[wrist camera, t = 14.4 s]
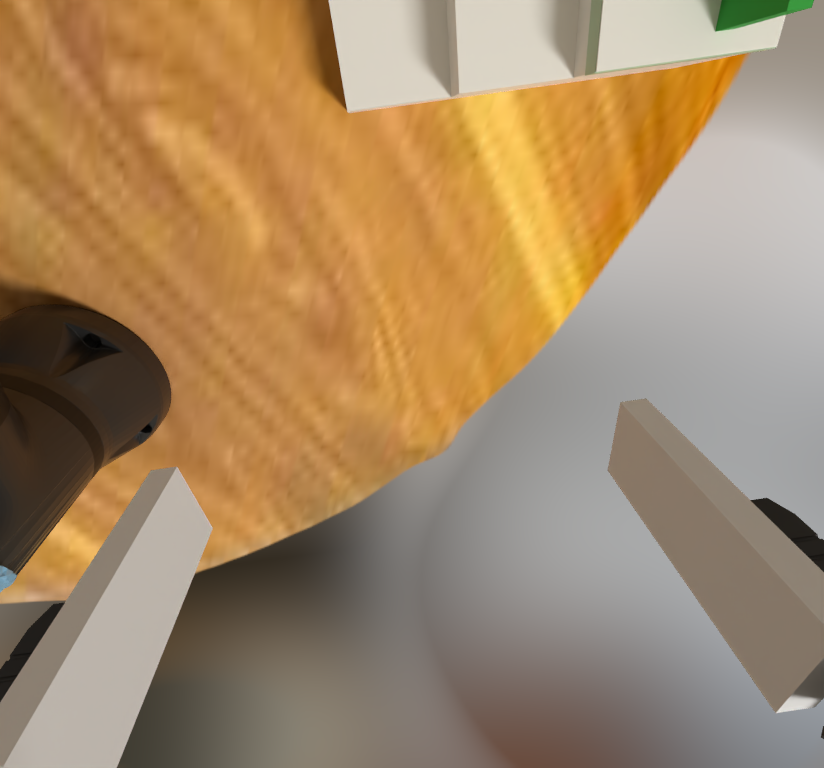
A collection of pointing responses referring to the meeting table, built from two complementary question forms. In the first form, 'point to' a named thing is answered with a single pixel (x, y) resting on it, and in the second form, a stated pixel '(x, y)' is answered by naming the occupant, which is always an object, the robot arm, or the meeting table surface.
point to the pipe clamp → (755, 11)
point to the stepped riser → (521, 44)
